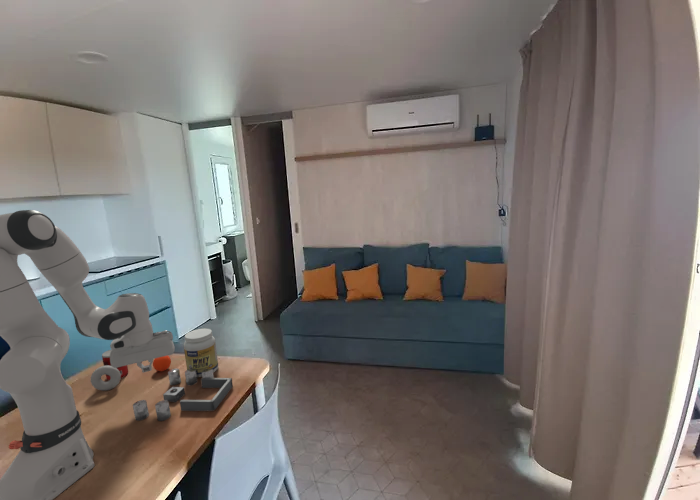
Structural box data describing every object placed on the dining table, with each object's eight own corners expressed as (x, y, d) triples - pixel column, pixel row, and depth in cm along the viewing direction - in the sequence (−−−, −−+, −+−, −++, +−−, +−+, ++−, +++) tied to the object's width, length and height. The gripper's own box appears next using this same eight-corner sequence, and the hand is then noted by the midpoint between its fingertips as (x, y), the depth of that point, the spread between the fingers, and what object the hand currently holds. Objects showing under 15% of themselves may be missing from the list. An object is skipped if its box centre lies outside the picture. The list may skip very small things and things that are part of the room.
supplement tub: (186, 381, 140) (180, 341, 137) (189, 367, 152) (183, 330, 148) (218, 374, 144) (213, 335, 141) (219, 361, 155) (214, 325, 152)
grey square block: (176, 402, 126) (175, 394, 126) (164, 402, 127) (163, 394, 127) (185, 394, 131) (184, 387, 131) (173, 393, 132) (172, 386, 132)
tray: (214, 411, 120) (212, 401, 119) (181, 410, 121) (179, 401, 121) (232, 386, 135) (231, 378, 134) (203, 386, 136) (202, 378, 135)
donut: (123, 384, 141) (119, 361, 139) (121, 389, 137) (117, 365, 136) (94, 390, 138) (90, 366, 136) (91, 395, 134) (86, 371, 133)
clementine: (151, 369, 151) (148, 354, 150) (168, 363, 156) (166, 348, 155) (156, 376, 146) (153, 360, 144) (174, 369, 150) (171, 354, 149)
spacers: (180, 421, 115) (178, 407, 115) (129, 420, 117) (127, 407, 116) (216, 379, 140) (214, 368, 139) (173, 379, 142) (171, 368, 141)
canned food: (132, 371, 151) (128, 347, 149) (119, 381, 143) (114, 356, 141) (116, 371, 152) (112, 347, 150) (101, 381, 144) (97, 356, 142)
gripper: (172, 326, 133) (178, 359, 136) (109, 339, 126) (117, 374, 128) (170, 332, 127) (177, 367, 130) (104, 346, 120) (113, 383, 123)
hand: (147, 370), depth 129 cm, fingers closed
